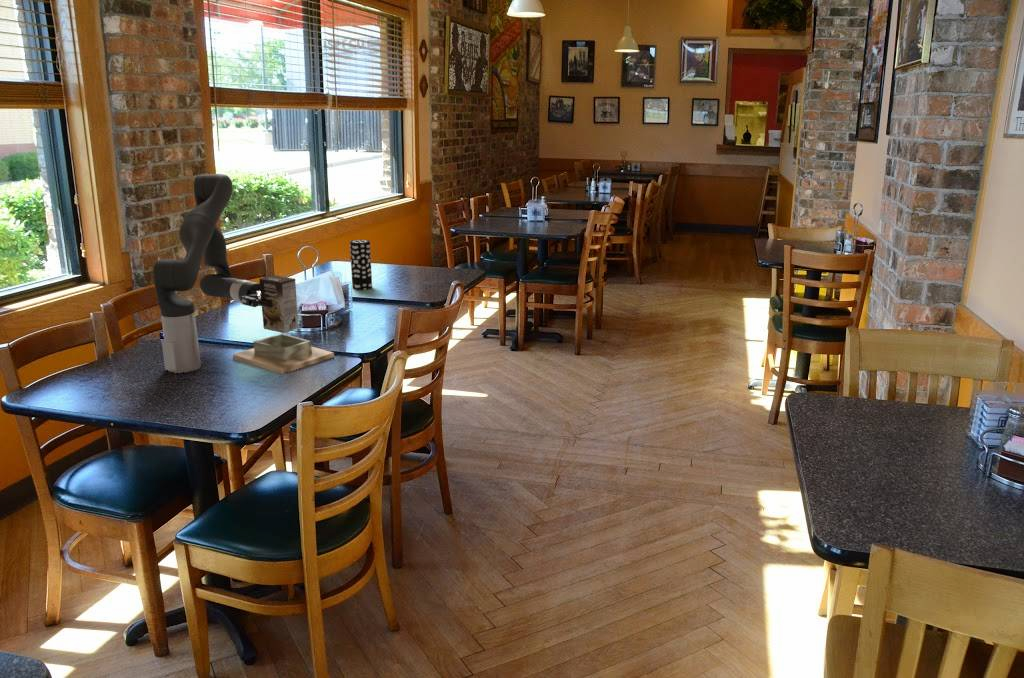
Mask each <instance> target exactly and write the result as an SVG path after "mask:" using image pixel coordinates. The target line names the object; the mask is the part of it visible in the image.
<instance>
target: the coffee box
mask: <svg viewBox="0 0 1024 678" xmlns="http://www.w3.org/2000/svg"><path fill="white" fill-rule="evenodd" d="M259 283H260V292H261V297H262V299H263V298H265V299H269V300H271V301H272V307H266V306H261V314H262V322H263V323H262V324H263V329H264V330H268V331H272V332H277V333H280V334H281V333H283V334H287V333H289V332H292V331H295V330H298V329H299V320H298V319H299V318H298V317H299V316H298V315H299V314H298V302H297V301H298V300H297V289H296V288H297V287H296V278H292V277H287V276H281V275H276V274H275V275H274V274H272V275H270V276H269V275H268V276H264V277H261V278H259Z"/></svg>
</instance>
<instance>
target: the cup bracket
mask: <svg viewBox="0 0 1024 678" xmlns="http://www.w3.org/2000/svg"><path fill="white" fill-rule="evenodd" d="M334 357H335V352H334V351H331V350H326V349H322V348H318V347H315V346H312V341H311V340H309V339H306V338H305V339H304V338H301V337H297V336H293V335H289V334H287V333H281V332H280V333H277V334H275V335H271V336H268V337H264V338H262V339H257V340H255V341H253V347H252V348H249V349H246V350H243V351H242V350H241V351H238V352H236V353H233V354H232V359H233V360H236V361H238V362H242V363H244V364H245V363H246V364H249V365H251V366H255V367H258V368H261V369H264V370H267V371H271V372H273V371H274V372H273V373H276V372H277V374H279V373H281V375H285V374H287V373H286V372H288V373H291V372H294V371H297V370H300V369H302V368H306V367H309V366H312V365H314V364H317V363H320V362H321V363H322V362H324V361H326V360H329V359H333V358H334ZM299 368H300V369H299ZM296 369H297V370H296ZM293 370H294V371H293ZM290 371H291V372H290ZM284 373H285V374H284Z"/></svg>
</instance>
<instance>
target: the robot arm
mask: <svg viewBox="0 0 1024 678" xmlns="http://www.w3.org/2000/svg"><path fill="white" fill-rule="evenodd" d="M232 194H233V181H232V179H231V178H230V177H229V176H228V175H227V174H224V173H211V174H210V173H209V174H198V175H196V177H194V180H193V195H194V201H195V205H196V206H195V207H194V208H192V209H191V210H190V211H189V212H188V213H187V214H186V215H185V217H184V218H183V221H182V223H181V225H180V228H179V230H178V238H179V240H180V242H181V244H182V246H183V247H184V250H185V252H186V255H185V256H184V258H182V259H177V258H176V259H172V258H171V259H170V258H168V259H166V258H165V259H159V260H157V261H156V262H154V264H153V269H152V278H153V285H154V289H155V294H156V300H157V304H158V308H159V310H160V316H161V317H160V318H161V324H162V333H163V339H161V347H162V349H161V350H162V354H163V362H164V370H165V371H167V370H168V372H170V373H173V372H174V374H176V373H178V374H182V373H183V372H184V373H190V371H191V372H194V371H197V370H199V369H200V368H201V367H202V361H201V354H200V353H201V352H200V346H199V337H198V329H197V328H198V327H197V322H196V321H197V320H196V312H195V305H194V302H192V301H191V300H189V299H186V298H183V297H181V296H180V295H178V294H177V293H176V292H186V291H191V290H192V289H193V288H194V287H195V284H196V282H197V278H198V276H199V271H200V268H201V265H202V261H204V264H205V265H206V267H210V268H213V269H215V271H216V273H207V274H205V275H203V276H201V279H200V280H199V288H200V290H201V292H202V293H203V294H205V295H206V296H209V297H212V298H213V297H214V298H223V299H228V300H232V301H235V302H237V303H240V304H242V305H243V306H248V307H252V308H256V307H262V306H266V307H272V301H271V300H269V299H265V298H263V299H262V297H261V292H260V282H256V281H251V280H247V279H240V278H235V277H233V275H232V274H233V273H232V272H231V268H230V266H229V265H230V264H229V262H228V259H227V258H228V257H227V256H228V253H227V244H226V243H227V242H226V238H225V236H224V234H223V232H222V231H221V229H220V228H219V226H218V221H219V220H220V217H221V215H222V213H224V210H225V209H226V207H227V205H228V204H229V202H230V200H231V198H232Z"/></svg>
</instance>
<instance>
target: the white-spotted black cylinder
mask: <svg viewBox="0 0 1024 678" xmlns="http://www.w3.org/2000/svg"><path fill="white" fill-rule="evenodd" d="M349 252H350V255H349V256H350V269H351V285H352V289H353V290H354V289H356V290H355V291H368V290H370V289H372V288H373V278H372V277H373V275H372V260H371V258H372V255H371V240H369V239H354V240H350V241H349Z"/></svg>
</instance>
